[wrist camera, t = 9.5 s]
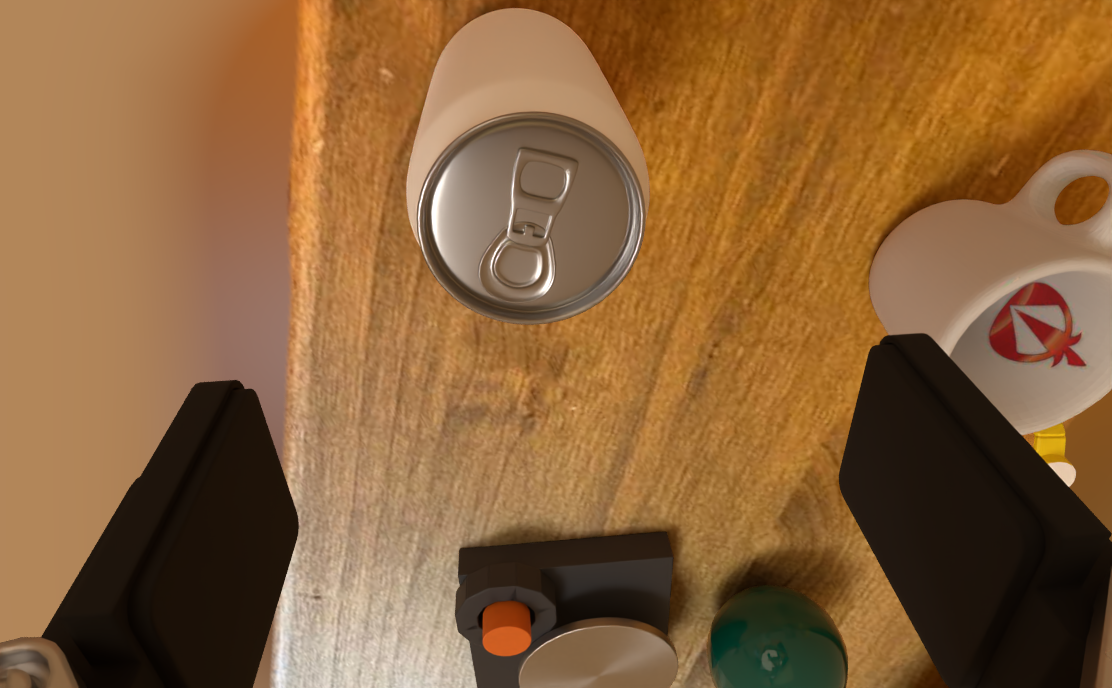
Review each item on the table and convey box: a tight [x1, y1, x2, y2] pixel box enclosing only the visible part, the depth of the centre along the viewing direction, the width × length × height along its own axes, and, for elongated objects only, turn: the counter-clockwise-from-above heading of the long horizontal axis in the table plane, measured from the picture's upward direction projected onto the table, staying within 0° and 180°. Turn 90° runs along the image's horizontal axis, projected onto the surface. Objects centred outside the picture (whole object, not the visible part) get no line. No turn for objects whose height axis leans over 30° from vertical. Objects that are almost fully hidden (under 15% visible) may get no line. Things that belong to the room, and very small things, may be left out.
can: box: [406, 8, 650, 325], centre depth 23 cm, size 6×6×12 cm
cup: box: [869, 150, 1112, 435], centre depth 29 cm, size 11×8×8 cm
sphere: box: [707, 585, 848, 688], centre depth 43 cm, size 8×8×8 cm
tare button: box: [483, 601, 531, 656], centre depth 39 cm, size 3×3×2 cm
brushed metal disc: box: [518, 617, 678, 688], centre depth 42 cm, size 9×9×1 cm
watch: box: [1034, 423, 1076, 487], centre depth 36 cm, size 6×3×6 cm, turn 177°
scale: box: [455, 532, 673, 688], centre depth 43 cm, size 12×13×4 cm
